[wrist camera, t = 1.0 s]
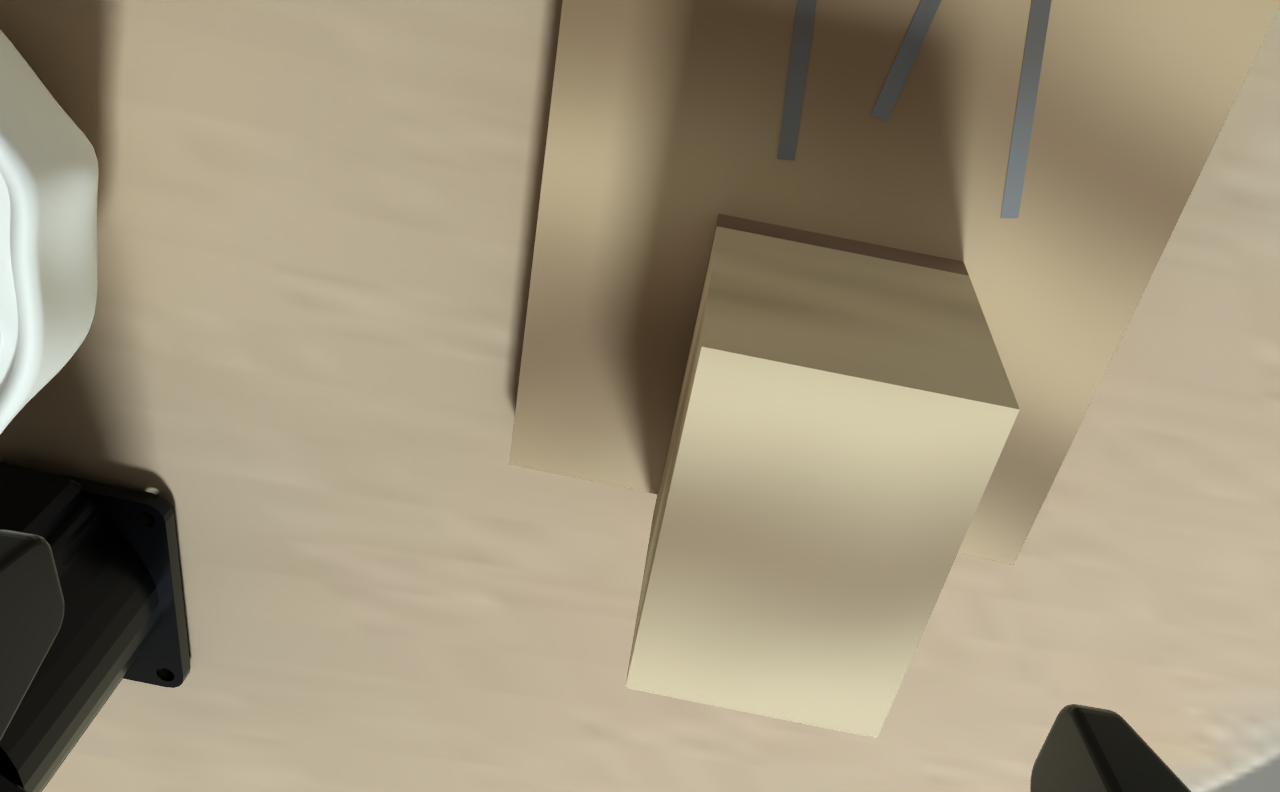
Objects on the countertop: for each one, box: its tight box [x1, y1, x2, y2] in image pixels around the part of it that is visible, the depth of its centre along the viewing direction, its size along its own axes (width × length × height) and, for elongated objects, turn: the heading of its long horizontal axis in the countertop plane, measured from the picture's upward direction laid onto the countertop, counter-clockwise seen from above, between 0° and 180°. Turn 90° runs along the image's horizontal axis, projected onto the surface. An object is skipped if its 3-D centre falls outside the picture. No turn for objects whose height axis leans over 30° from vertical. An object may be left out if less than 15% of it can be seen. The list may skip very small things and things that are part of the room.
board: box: [509, 0, 1280, 565], centre depth 18 cm, size 18×11×1 cm, turn 171°
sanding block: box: [625, 214, 1020, 738], centre depth 18 cm, size 7×4×5 cm, turn 171°
